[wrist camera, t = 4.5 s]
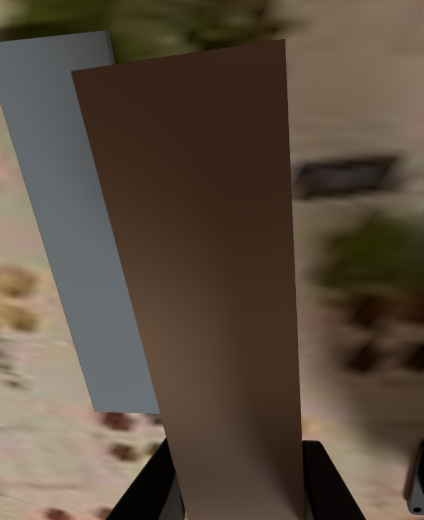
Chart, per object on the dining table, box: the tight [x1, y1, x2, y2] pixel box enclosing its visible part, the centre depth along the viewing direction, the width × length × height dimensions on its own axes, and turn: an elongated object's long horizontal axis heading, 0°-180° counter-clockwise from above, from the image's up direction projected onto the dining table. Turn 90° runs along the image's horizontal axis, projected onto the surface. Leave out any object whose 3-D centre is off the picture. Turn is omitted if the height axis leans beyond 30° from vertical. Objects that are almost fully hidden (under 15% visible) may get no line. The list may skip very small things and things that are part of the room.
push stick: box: [71, 39, 304, 520], centre depth 9 cm, size 16×2×2 cm, turn 8°
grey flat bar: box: [0, 30, 160, 414], centre depth 20 cm, size 20×5×1 cm, turn 5°
